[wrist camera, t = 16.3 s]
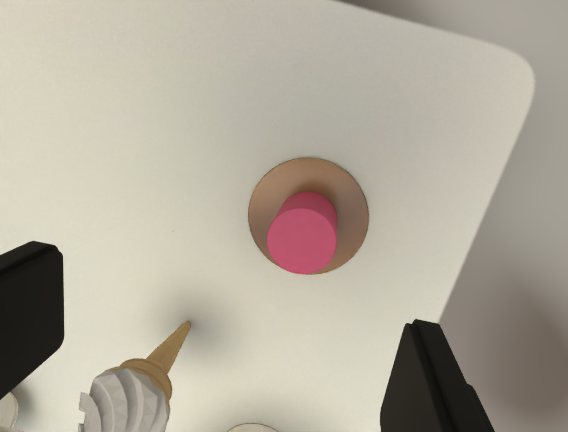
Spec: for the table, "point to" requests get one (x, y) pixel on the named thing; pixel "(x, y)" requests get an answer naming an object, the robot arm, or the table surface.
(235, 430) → the cup
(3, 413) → the headphones
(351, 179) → the coaster
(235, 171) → the table surface
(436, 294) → the table surface
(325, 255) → the pink cylinder block
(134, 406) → the ice cream cone
